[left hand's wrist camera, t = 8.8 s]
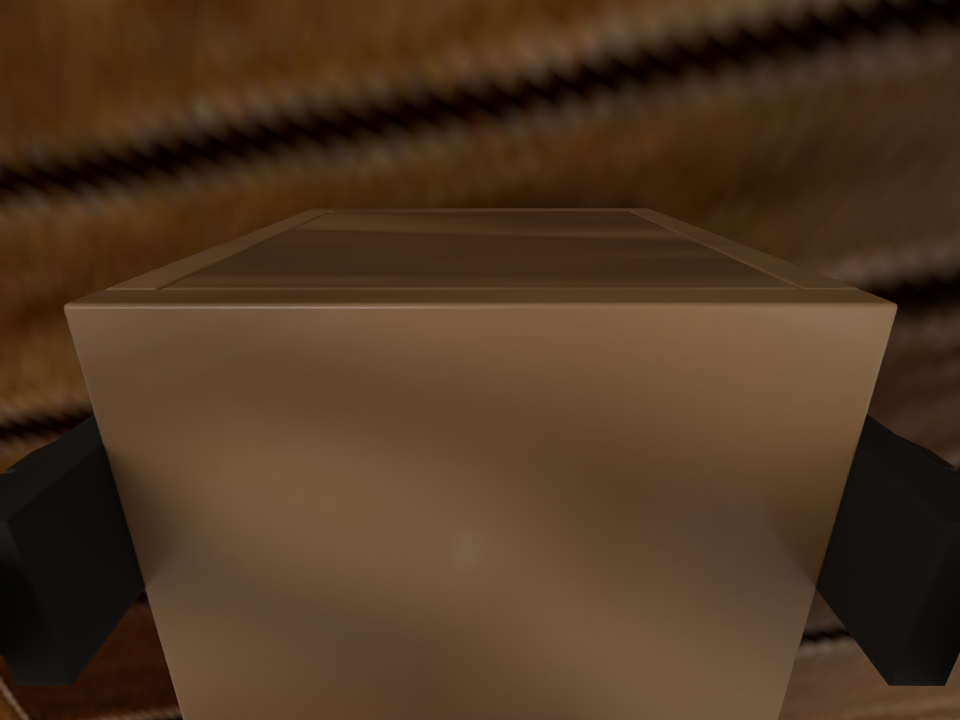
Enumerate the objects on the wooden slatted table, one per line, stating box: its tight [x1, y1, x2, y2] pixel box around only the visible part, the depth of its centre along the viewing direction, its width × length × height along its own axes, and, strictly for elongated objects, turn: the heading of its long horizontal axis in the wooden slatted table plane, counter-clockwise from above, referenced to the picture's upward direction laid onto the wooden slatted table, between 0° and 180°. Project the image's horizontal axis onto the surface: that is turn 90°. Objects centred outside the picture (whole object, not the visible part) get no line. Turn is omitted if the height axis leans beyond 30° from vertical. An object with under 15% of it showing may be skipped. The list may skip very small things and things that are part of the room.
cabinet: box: [64, 208, 897, 720], centre depth 16 cm, size 18×11×12 cm, turn 0°
